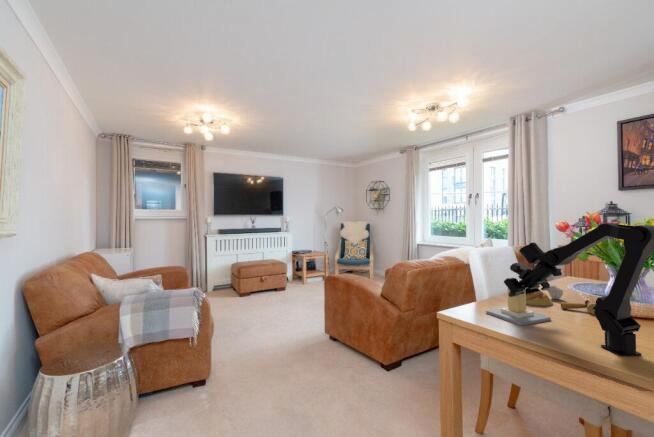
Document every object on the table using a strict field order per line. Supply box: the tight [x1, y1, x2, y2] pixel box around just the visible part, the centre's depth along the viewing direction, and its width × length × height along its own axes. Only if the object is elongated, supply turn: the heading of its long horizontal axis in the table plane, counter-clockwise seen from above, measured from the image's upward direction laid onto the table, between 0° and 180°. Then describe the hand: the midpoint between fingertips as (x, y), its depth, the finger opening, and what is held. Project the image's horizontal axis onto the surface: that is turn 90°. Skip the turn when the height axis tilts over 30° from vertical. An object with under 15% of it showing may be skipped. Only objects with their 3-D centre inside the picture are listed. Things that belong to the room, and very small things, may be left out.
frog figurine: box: [546, 284, 564, 300], centre depth 146 cm, size 6×7×7 cm
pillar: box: [507, 279, 527, 313], centre depth 122 cm, size 4×4×13 cm
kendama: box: [559, 299, 596, 315], centre depth 127 cm, size 8×6×18 cm
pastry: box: [526, 290, 554, 307], centre depth 142 cm, size 13×15×8 cm
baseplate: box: [485, 306, 552, 327], centre depth 122 cm, size 16×16×3 cm
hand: (513, 295), depth 123 cm, fingers closed on pillar, 4 cm apart
